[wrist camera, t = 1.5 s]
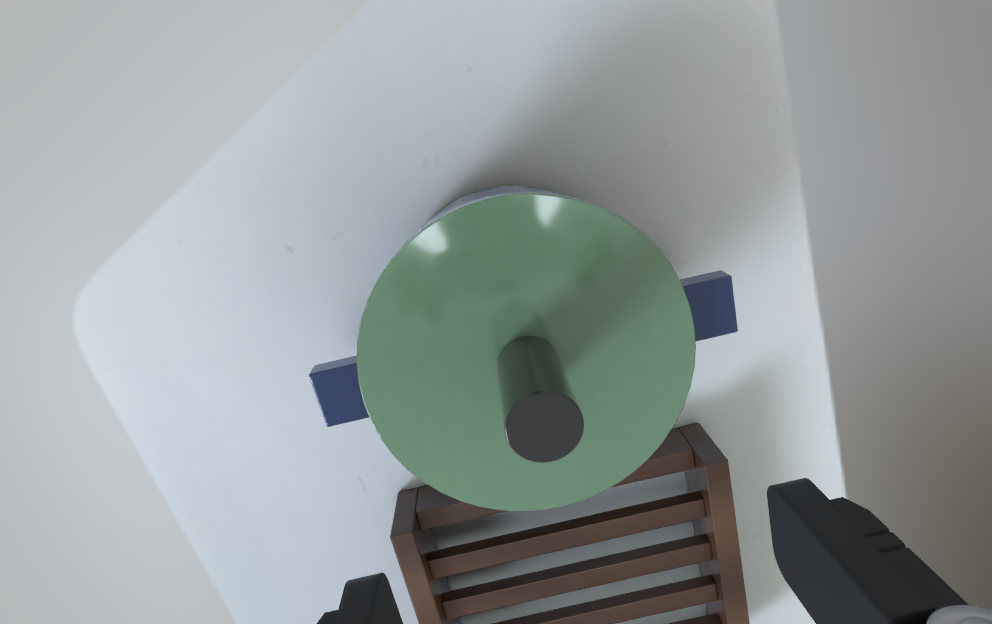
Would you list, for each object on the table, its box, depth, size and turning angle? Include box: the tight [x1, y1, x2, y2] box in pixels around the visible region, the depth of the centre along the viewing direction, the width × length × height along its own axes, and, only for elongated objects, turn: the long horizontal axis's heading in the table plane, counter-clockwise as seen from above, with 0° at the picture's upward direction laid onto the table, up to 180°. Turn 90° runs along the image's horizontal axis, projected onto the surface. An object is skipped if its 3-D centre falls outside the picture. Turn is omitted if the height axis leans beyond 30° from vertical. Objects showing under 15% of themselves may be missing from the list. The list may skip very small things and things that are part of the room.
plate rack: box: [390, 423, 749, 624], centre depth 35 cm, size 15×17×4 cm
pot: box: [309, 185, 738, 427], centre depth 28 cm, size 12×17×8 cm
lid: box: [357, 192, 696, 511], centre depth 21 cm, size 13×13×6 cm
